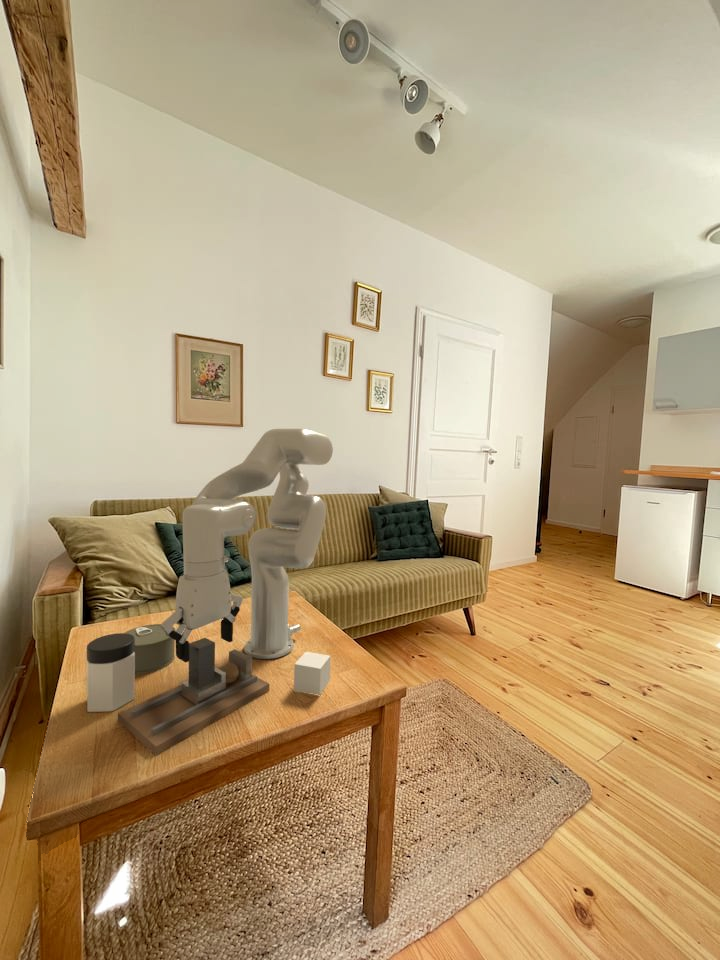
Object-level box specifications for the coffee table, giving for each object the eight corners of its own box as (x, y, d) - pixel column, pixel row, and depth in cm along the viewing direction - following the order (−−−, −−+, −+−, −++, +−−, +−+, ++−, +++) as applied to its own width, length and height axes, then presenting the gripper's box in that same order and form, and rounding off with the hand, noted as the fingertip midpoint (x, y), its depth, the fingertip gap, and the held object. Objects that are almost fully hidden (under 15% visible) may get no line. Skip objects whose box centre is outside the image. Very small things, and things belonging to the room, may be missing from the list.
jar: (143, 688, 83) (144, 632, 83) (124, 711, 75) (124, 650, 75) (98, 689, 82) (99, 633, 82) (74, 713, 74) (74, 651, 74)
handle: (208, 682, 83) (209, 633, 83) (225, 692, 79) (226, 641, 79) (181, 694, 78) (182, 643, 78) (198, 706, 75) (199, 652, 74)
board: (229, 669, 92) (229, 641, 92) (269, 690, 84) (269, 660, 83) (117, 721, 72) (118, 686, 72) (155, 755, 64) (156, 716, 64)
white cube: (319, 696, 82) (320, 668, 82) (293, 691, 84) (294, 664, 83) (329, 681, 88) (330, 655, 88) (305, 677, 89) (305, 651, 89)
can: (129, 681, 86) (130, 650, 86) (110, 662, 94) (111, 634, 93) (184, 661, 95) (184, 633, 95) (162, 646, 103) (163, 620, 103)
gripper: (230, 554, 87) (231, 628, 88) (150, 574, 73) (153, 661, 74) (251, 560, 83) (252, 638, 84) (171, 582, 69) (174, 675, 70)
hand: (206, 649), depth 79 cm, fingers open, 9 cm apart
